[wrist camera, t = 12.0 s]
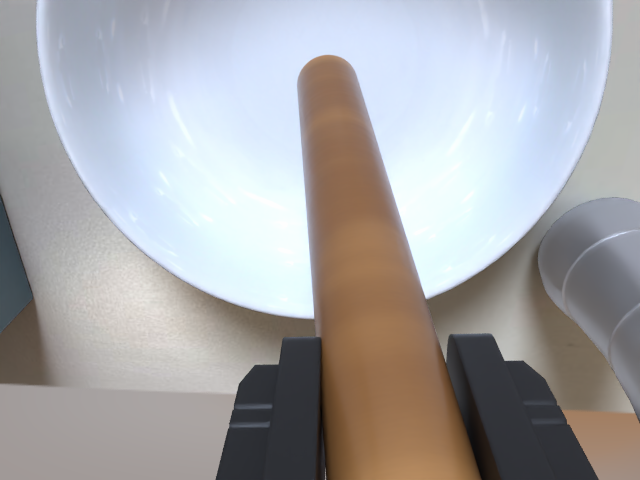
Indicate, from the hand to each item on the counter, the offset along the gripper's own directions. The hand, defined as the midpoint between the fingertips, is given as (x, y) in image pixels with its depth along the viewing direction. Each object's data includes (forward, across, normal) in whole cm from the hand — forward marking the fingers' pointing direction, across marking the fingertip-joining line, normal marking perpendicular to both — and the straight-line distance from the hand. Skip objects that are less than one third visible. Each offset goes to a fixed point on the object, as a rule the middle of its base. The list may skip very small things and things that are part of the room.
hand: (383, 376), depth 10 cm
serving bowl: (+19, +1, -4) cm, 20 cm away
